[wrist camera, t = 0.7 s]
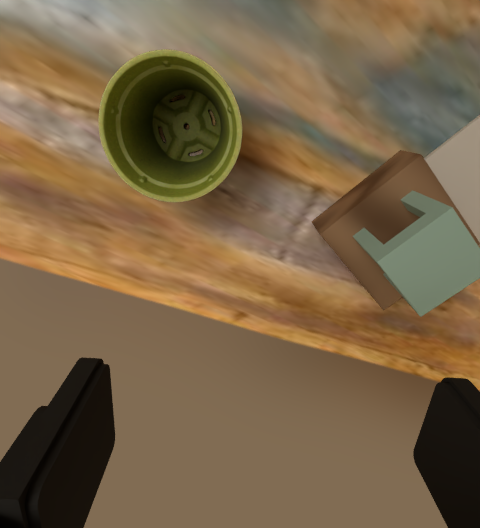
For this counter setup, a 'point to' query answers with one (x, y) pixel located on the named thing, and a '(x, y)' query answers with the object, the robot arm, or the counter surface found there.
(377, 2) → the counter surface
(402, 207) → the brown square block
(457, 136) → the mat
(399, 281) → the green notched block
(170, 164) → the plant pot
